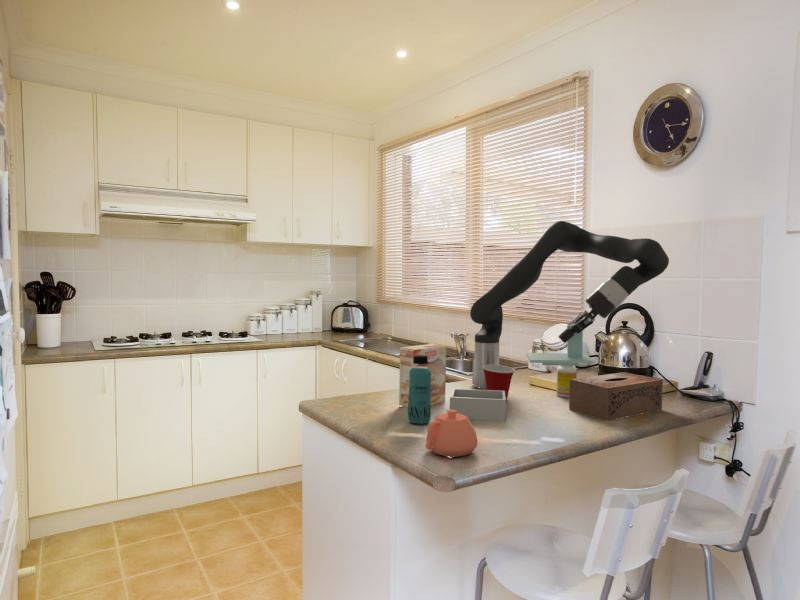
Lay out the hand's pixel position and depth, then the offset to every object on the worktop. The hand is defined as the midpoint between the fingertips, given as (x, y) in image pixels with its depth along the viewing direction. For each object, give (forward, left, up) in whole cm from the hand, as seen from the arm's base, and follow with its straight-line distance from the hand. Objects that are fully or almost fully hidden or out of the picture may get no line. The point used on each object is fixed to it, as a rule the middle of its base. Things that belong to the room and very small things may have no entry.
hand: (561, 339), depth 152 cm
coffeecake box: (-37, -23, -24) cm, 50 cm away
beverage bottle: (-19, -37, -24) cm, 48 cm away
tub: (-17, -17, -24) cm, 34 cm away
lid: (0, 0, -7) cm, 7 cm away
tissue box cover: (0, +26, -25) cm, 36 cm away
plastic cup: (-27, +1, -24) cm, 36 cm away
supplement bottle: (-21, +28, -24) cm, 43 cm away
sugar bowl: (+3, -44, -24) cm, 50 cm away
